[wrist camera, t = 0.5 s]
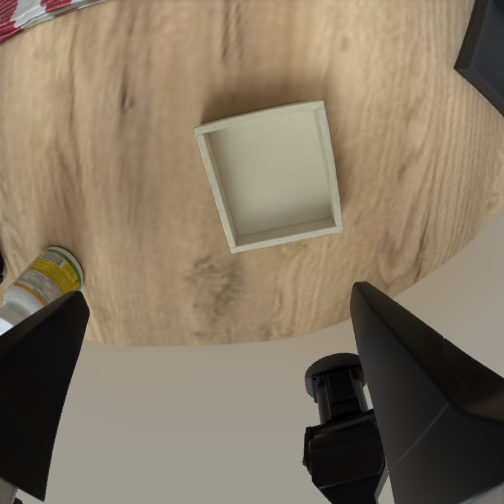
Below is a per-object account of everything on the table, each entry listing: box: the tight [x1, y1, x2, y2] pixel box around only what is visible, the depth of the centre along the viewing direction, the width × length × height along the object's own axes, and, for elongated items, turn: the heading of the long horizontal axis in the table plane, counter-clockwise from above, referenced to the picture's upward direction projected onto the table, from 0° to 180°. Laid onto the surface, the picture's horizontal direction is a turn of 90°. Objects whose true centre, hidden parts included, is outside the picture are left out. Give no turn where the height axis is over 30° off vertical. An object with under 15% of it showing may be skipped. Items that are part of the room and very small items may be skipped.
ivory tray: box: [194, 99, 343, 253], centre depth 19 cm, size 9×8×2 cm
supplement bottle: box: [0, 247, 83, 335], centre depth 20 cm, size 5×5×10 cm
